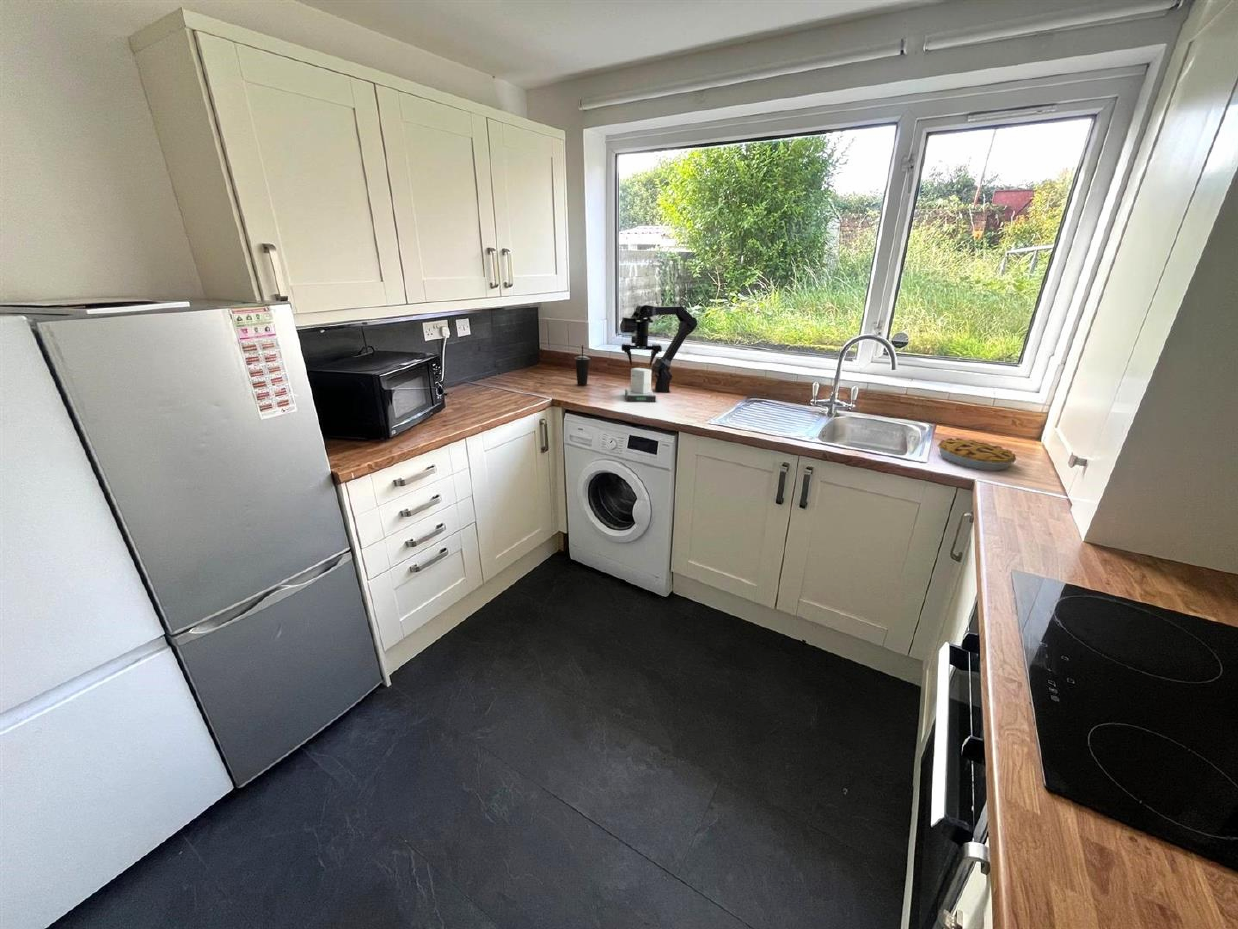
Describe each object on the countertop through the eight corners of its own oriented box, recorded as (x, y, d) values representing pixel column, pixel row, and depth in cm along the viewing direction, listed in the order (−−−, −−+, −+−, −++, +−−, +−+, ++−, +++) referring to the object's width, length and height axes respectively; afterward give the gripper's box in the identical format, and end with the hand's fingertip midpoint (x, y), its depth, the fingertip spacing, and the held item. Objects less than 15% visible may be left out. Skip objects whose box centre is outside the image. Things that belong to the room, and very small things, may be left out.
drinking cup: (589, 387, 251) (589, 346, 244) (573, 386, 251) (573, 346, 244) (590, 383, 258) (590, 344, 251) (575, 383, 258) (575, 343, 251)
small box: (650, 392, 231) (652, 369, 227) (643, 394, 227) (644, 371, 223) (637, 389, 236) (638, 367, 232) (629, 391, 232) (630, 368, 228)
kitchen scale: (651, 395, 239) (652, 388, 238) (655, 402, 227) (655, 395, 226) (624, 394, 238) (625, 388, 237) (627, 401, 226) (627, 394, 225)
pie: (923, 456, 169) (927, 442, 168) (952, 445, 181) (956, 432, 180) (997, 477, 153) (1002, 462, 151) (1023, 464, 165) (1028, 450, 163)
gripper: (659, 331, 241) (657, 363, 247) (621, 329, 240) (620, 362, 246) (662, 333, 231) (660, 367, 237) (622, 332, 230) (621, 366, 235)
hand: (640, 365), depth 239 cm, fingers open, 9 cm apart
